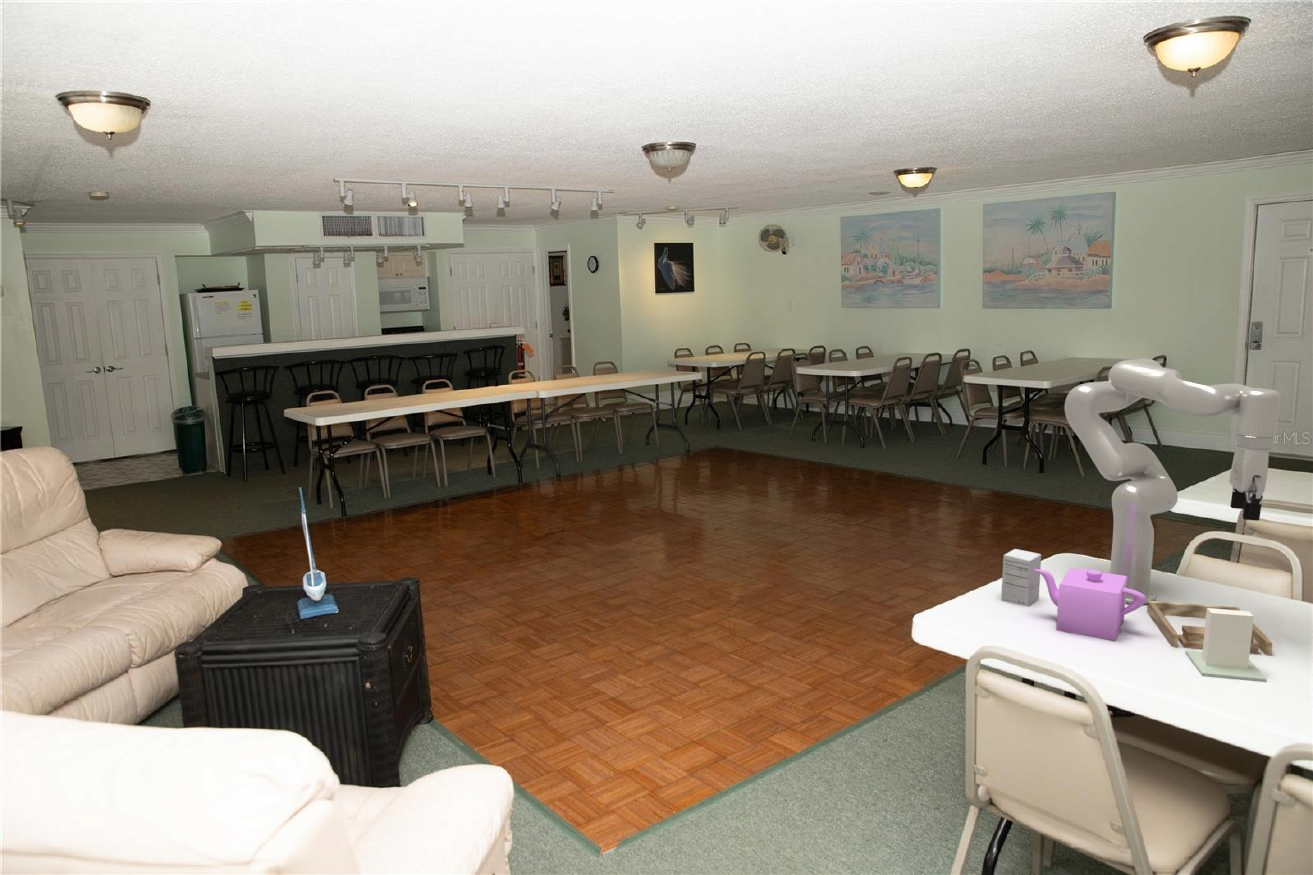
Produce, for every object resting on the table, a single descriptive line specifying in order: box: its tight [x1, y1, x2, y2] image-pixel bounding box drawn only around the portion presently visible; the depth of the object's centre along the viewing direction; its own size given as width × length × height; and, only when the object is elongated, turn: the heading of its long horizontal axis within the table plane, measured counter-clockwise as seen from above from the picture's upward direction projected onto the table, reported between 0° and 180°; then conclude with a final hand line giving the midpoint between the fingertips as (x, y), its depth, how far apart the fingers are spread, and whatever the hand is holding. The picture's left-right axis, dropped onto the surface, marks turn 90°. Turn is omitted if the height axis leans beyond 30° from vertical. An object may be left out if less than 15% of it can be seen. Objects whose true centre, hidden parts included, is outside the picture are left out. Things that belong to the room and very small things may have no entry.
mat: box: [1184, 649, 1268, 682], centre depth 192 cm, size 12×12×1 cm
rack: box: [1146, 600, 1273, 656], centre depth 210 cm, size 20×22×3 cm
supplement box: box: [1000, 548, 1042, 607], centre depth 233 cm, size 7×7×13 cm
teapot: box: [1034, 567, 1146, 642], centre depth 215 cm, size 15×25×14 cm, turn 56°
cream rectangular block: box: [1201, 608, 1254, 669], centre depth 191 cm, size 8×3×12 cm, turn 74°
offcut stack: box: [1178, 624, 1260, 655], centre depth 202 cm, size 15×5×4 cm, turn 74°
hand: (1244, 513), depth 205 cm, fingers open, 9 cm apart
